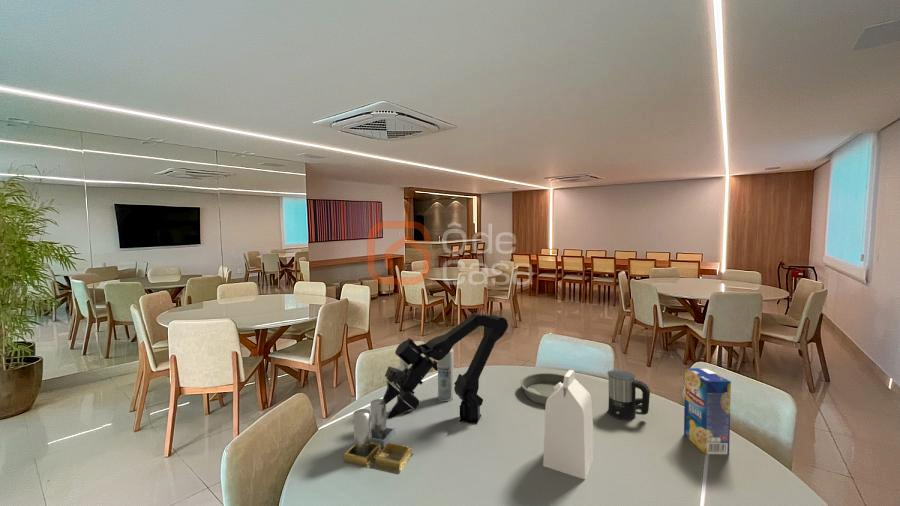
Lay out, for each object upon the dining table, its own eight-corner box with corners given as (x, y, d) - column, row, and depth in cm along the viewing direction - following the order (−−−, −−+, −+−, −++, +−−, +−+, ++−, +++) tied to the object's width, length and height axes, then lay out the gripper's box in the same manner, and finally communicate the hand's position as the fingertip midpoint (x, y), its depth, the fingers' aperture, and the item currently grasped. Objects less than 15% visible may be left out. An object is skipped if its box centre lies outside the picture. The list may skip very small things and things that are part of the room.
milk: (585, 479, 99) (585, 384, 97) (543, 466, 105) (543, 376, 103) (594, 456, 109) (594, 370, 108) (555, 445, 115) (555, 363, 114)
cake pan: (534, 378, 169) (534, 368, 169) (589, 391, 155) (590, 380, 154) (510, 398, 149) (510, 387, 149) (571, 414, 135) (571, 402, 134)
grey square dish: (395, 437, 120) (395, 428, 120) (383, 450, 113) (383, 440, 113) (374, 433, 123) (374, 424, 123) (362, 446, 116) (362, 436, 116)
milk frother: (607, 417, 132) (607, 376, 131) (606, 399, 146) (607, 362, 146) (652, 424, 126) (652, 382, 126) (647, 405, 141) (647, 367, 140)
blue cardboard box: (705, 434, 120) (706, 368, 119) (729, 454, 109) (731, 381, 108) (683, 434, 120) (684, 368, 119) (705, 454, 109) (707, 381, 108)
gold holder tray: (413, 456, 110) (413, 447, 110) (398, 477, 100) (398, 467, 100) (361, 446, 116) (361, 437, 116) (342, 465, 106) (342, 455, 106)
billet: (389, 439, 120) (388, 400, 119) (382, 447, 115) (381, 406, 114) (376, 436, 121) (375, 398, 121) (368, 444, 117) (367, 404, 116)
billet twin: (374, 452, 111) (373, 410, 110) (365, 461, 106) (364, 417, 105) (360, 449, 112) (359, 408, 112) (351, 458, 108) (350, 415, 107)
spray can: (435, 400, 147) (434, 351, 146) (441, 393, 153) (441, 346, 152) (450, 403, 145) (449, 353, 144) (456, 396, 151) (455, 348, 150)
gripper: (392, 350, 128) (360, 386, 124) (409, 367, 112) (373, 410, 107) (413, 368, 132) (383, 405, 128) (433, 388, 115) (399, 430, 111)
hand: (384, 411), depth 119 cm, fingers open, 9 cm apart
